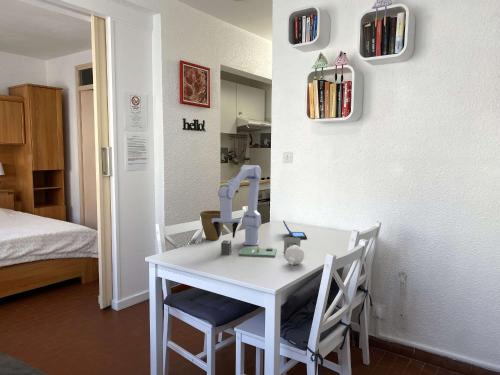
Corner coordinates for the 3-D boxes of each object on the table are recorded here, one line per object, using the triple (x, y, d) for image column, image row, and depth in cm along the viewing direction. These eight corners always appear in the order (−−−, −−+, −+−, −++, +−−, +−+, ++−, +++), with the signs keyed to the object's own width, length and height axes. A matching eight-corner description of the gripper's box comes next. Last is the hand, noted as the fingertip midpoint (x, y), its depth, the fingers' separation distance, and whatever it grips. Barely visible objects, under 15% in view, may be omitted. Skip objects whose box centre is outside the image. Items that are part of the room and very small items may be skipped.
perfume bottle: (285, 256, 184) (279, 266, 173) (290, 239, 181) (285, 248, 170) (302, 262, 182) (297, 273, 171) (308, 246, 179) (303, 256, 168)
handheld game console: (307, 239, 226) (307, 224, 225) (284, 239, 226) (284, 224, 225) (303, 234, 242) (304, 219, 241) (282, 233, 242) (282, 219, 241)
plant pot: (221, 242, 218) (221, 214, 216) (196, 241, 221) (196, 213, 219) (228, 236, 232) (228, 210, 231) (204, 235, 235) (204, 209, 234)
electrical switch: (283, 253, 195) (283, 237, 195) (284, 252, 199) (284, 236, 199) (300, 254, 193) (300, 238, 193) (300, 253, 198) (301, 237, 198)
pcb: (242, 249, 203) (242, 242, 203) (276, 250, 201) (276, 244, 200) (238, 255, 191) (238, 248, 191) (274, 257, 189) (275, 250, 188)
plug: (223, 251, 198) (223, 240, 198) (231, 252, 198) (231, 240, 197) (221, 254, 192) (221, 243, 192) (229, 255, 192) (228, 243, 191)
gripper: (210, 211, 190) (210, 238, 191) (239, 212, 188) (239, 239, 189) (213, 209, 197) (213, 235, 198) (241, 209, 195) (241, 236, 196)
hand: (226, 237), depth 194 cm, fingers open, 7 cm apart
